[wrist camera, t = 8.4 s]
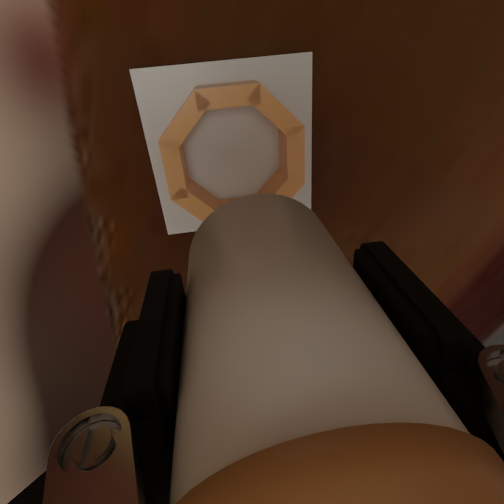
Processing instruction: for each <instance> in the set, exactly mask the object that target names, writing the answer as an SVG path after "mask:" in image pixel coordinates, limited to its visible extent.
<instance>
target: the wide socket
mask: <svg viewBox="0 0 504 504" xmlns="http://www.w3.org/2000/svg"><path fill="white" fill-rule="evenodd" d="M129 70H130V75H131V79H132V83H133V87H134V92H135V96H136V100H137V104H138V109H139V113H140V117H141V121H142V125H143V130H144V134H145V138H146V142H147V147H148V151H149V155H150V159H151V164H152V168H153V172H154V176H155V181H156V185H157V189H158V193H159V197H160V202H161V206H162V210H163V214H164V219H165V223H166V227H167V231H168V235H170V234H178V233H185V232H193V231H197V230H198V228H199V227H200V225H201V224H202V222H203V221H204V220H205V219H206V218H207V217H208V216H209V215H210V214H211V213H212V212H213V211H215V210H216V209H217V208H218V207H220V206H222V205H223V204H225V203H227V202H229V201H231V200H233V199H236V198H239V197H242V196H245V195H251V194H259V193H270V194H278V195H283V196H287V197H290V198H292V199H295V200H297V201H299V202H301V203H302V204H304V205H305V206H307V207H308V208H309V209H310V210H311V158H312V52H303V53H293V54H282V55H272V56H262V57H251V58H241V59H231V60H220V61H210V62H200V63H189V64H179V65H169V66H158V67H148V68H138V69H129Z"/></svg>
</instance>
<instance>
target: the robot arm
mask: <svg viewBox="0 0 504 504" xmlns="http://www.w3.org/2000/svg"><path fill="white" fill-rule="evenodd" d="M353 268H354V269H355V271H356V272H357V274H358V275H359V277H360V278H361V279H362V281H363V282H364V284H365V285H366V287H367V288H368V289H369V291H370V292H371V294H372V295H373V297H374V298H375V299H376V301H377V302H378V304H379V305H380V306H381V308H382V309H383V311H384V312H385V314H386V315H387V316H388V318H389V319H390V321H391V322H392V324H393V325H394V326H395V328H396V329H397V331H398V332H399V333H400V335H401V336H402V338H403V339H404V341H405V342H406V343H407V345H408V346H409V348H410V349H411V351H412V352H413V353H414V355H415V356H416V358H417V359H418V360H419V362H420V363H421V365H422V366H423V368H424V369H425V370H426V372H427V373H428V375H429V376H430V378H431V379H432V380H433V382H434V383H435V385H436V386H437V388H438V389H439V390H440V392H441V393H442V395H443V396H444V397H445V399H446V400H447V402H448V403H449V405H450V406H451V407H452V409H453V410H454V412H455V413H456V415H457V416H458V417H459V419H460V420H461V422H462V423H463V424H464V426H465V427H466V429H467V430H468V432H469V433H470V434H471V435H473V436H475V437H478V438H480V439H482V440H483V441H484V442H486V443H487V444H488V445H490V446H491V447H492V448H493V449H494V450H495V451H496V453H497V454H498V455H499V456H500V458H501V459H502V460H503V462H504V345H492V346H489V347H486V348H485V347H484V346H483V345H482V344H481V343H480V342H479V341H478V339H477V338H476V337H475V336H474V335H473V334H472V333H471V332H470V331H469V330H468V329H467V328H466V327H465V326H464V325H463V324H462V323H461V322H460V321H459V320H458V319H457V318H456V317H455V315H454V314H453V313H452V312H451V311H450V310H449V309H448V308H447V307H446V306H445V305H444V304H443V303H442V302H441V301H440V300H439V299H438V298H437V297H436V296H435V295H434V294H433V293H432V292H431V291H430V290H429V289H428V288H427V286H426V285H425V284H424V283H423V282H422V281H421V280H420V279H419V278H418V277H417V276H416V275H415V274H414V273H413V272H412V271H411V270H410V269H409V268H408V267H407V266H406V265H405V264H404V263H403V262H402V261H401V260H400V259H399V257H398V256H397V255H396V254H395V253H394V252H393V251H392V250H391V249H390V248H389V247H388V246H387V245H386V244H385V243H384V242H382V241H378V242H370V243H363V244H361V246H360V249H356V250H355V253H354V263H353ZM185 302H186V296H185V292H184V287H183V283H182V279H181V275H180V273H177V274H174V273H173V271H172V269H168V270H161V271H154V272H151V274H150V278H149V282H148V286H147V290H146V294H145V298H144V302H143V306H142V310H141V313H140V317H139V320H135V321H128V322H127V323H125V326H124V328H123V331H122V334H121V338H120V341H119V344H118V348H117V351H116V354H115V358H114V361H113V364H112V367H111V371H110V374H109V377H108V381H107V384H106V387H105V391H104V394H103V397H102V401H101V404H100V407H98V408H94V409H90V410H88V411H86V412H84V413H82V414H80V415H78V416H77V417H76V418H74V419H73V420H72V421H71V422H69V423H68V424H67V425H66V426H65V427H64V428H63V429H62V430H61V431H60V433H59V434H58V435H57V437H56V438H55V440H54V442H53V444H52V445H51V448H50V451H49V455H48V458H47V468H46V471H45V472H44V473H43V474H42V475H41V476H39V477H38V478H37V479H36V480H35V481H34V482H32V483H31V484H30V485H29V486H28V487H27V488H25V489H24V490H23V491H22V492H21V493H20V494H18V495H17V496H16V497H15V498H14V499H13V500H11V501H10V502H9V503H8V504H169V500H170V487H171V475H172V463H173V450H174V438H175V426H176V413H177V401H178V388H179V376H180V364H181V351H182V339H183V327H184V314H185Z"/></svg>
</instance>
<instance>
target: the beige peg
mask: <svg viewBox="0 0 504 504" xmlns="http://www.w3.org/2000/svg"><path fill="white" fill-rule="evenodd" d="M169 504H504V462H503V460H502V459H501V458H500V456H499V455H498V454H497V453H496V451H495V450H494V449H493V448H492V447H491V446H490V445H488V444H487V443H486V442H484V441H483V440H482V439H480V438H478V437H475V436H473V435H471V434H470V433H469V432H468V430H467V429H466V427H465V426H464V424H463V423H462V422H461V420H460V419H459V417H458V416H457V415H456V413H455V412H454V410H453V409H452V407H451V406H450V405H449V403H448V402H447V400H446V399H445V397H444V396H443V395H442V393H441V392H440V390H439V389H438V388H437V386H436V385H435V383H434V382H433V380H432V379H431V378H430V376H429V375H428V373H427V372H426V370H425V369H424V368H423V366H422V365H421V363H420V362H419V360H418V359H417V358H416V356H415V355H414V353H413V352H412V351H411V349H410V348H409V346H408V345H407V343H406V342H405V341H404V339H403V338H402V336H401V335H400V333H399V332H398V331H397V329H396V328H395V326H394V325H393V324H392V322H391V321H390V319H389V318H388V316H387V315H386V314H385V312H384V311H383V309H382V308H381V306H380V305H379V304H378V302H377V301H376V299H375V298H374V297H373V295H372V294H371V292H370V291H369V289H368V288H367V287H366V285H365V284H364V282H363V281H362V279H361V278H360V277H359V275H358V274H357V272H356V271H355V269H354V268H353V267H352V265H351V264H350V262H349V261H348V260H347V258H346V257H345V255H344V254H343V252H342V251H341V250H340V248H339V247H338V245H337V244H336V242H335V241H334V240H333V238H332V237H331V235H330V234H329V233H328V231H327V230H326V228H325V227H324V225H323V224H322V223H321V221H320V220H319V218H318V217H317V216H316V215H315V213H313V212H312V211H311V210H310V209H309V208H308V207H307V206H305V205H304V204H302V203H301V202H299V201H297V200H295V199H292V198H290V197H287V196H283V195H278V194H270V193H259V194H251V195H245V196H242V197H239V198H236V199H233V200H231V201H229V202H227V203H225V204H223V205H222V206H220V207H218V208H217V209H216V210H215V211H213V212H212V213H211V214H210V215H209V216H208V217H207V218H206V219H205V220H204V221H203V222H202V224H201V225H200V227H199V228H198V230H197V232H196V233H195V235H194V238H193V240H192V243H191V247H190V253H189V265H188V277H187V290H186V302H185V314H184V327H183V339H182V351H181V364H180V376H179V388H178V401H177V413H176V426H175V438H174V450H173V463H172V475H171V487H170V500H169Z"/></svg>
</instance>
